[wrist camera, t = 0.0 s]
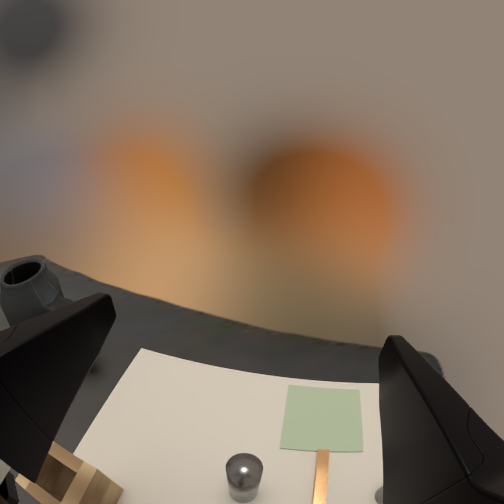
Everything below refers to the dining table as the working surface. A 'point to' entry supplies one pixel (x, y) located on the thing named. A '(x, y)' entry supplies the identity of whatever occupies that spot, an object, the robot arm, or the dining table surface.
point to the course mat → (233, 434)
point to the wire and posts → (250, 472)
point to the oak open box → (70, 481)
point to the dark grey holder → (29, 291)
